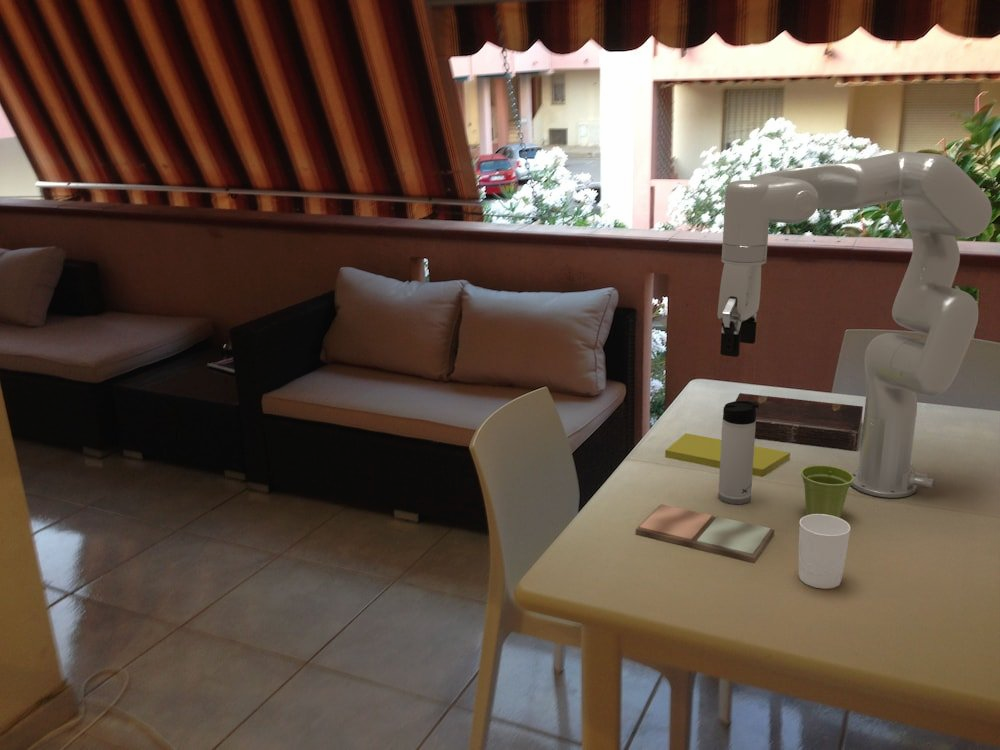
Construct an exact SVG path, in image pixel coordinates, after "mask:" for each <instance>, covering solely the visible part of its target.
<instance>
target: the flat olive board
mask: <svg viewBox="0 0 1000 750" xmlns="http://www.w3.org/2000/svg"><path fill="white" fill-rule="evenodd" d="M664 455H665V457H664V458H667V459H672V460H676V461H677V460H678V461H681V462H688V463H693V464H696V465H697V464H698V465H701V466H705V467H706V466H707V467H712V468H716V469H720V457H721V438H713V437H708V436H703V435H697V434H693V433H687V432H685V433H684V434H683V435H681V437H680V438H678V439H677V440H676V441H675V442H673V443H672V444H671V445H670V446H668V447H667V449H666V448H665V454H664ZM790 458H791V452H788V451H784V450H778V449H772V448H768V447H767V448H766V447H762V446H756V445H754V457H753V472H752V476H758V477H761V478H762V477H764V476H765V475H767V474H768V473H771V472H772V471H773V470H775V469H776V468H778V467H780V466H781V465H784V464H785V463H787V462H788V461H790Z"/></svg>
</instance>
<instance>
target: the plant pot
mask: <svg viewBox="0 0 1000 750" xmlns="http://www.w3.org/2000/svg"><path fill="white" fill-rule="evenodd" d="M800 475H801V477H802V481H803V484H804V496H805V497H804V499H805V513H806V515H811V514H826V515H832V516H835V517H838V518H841V516H842V513H843V508H844V506H845V502H846V497H847V495H848V491H849V489H850V487H851V483H852V482H853V480H854V476H853V475H852V472H850V471H848V470H846V469H843V468H840V467H837V466H833V465H825V464H824V465H823V464H813V465H807V466H804V467H803V468H801V469H800Z"/></svg>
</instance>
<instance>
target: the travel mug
mask: <svg viewBox="0 0 1000 750" xmlns="http://www.w3.org/2000/svg"><path fill="white" fill-rule="evenodd" d="M756 407H757V409H758V408H759V405H758V403H757V402H750V401H736V400H735V401H731V402H728V403H726V404H724V406H723V409H722V410H723V411H722V413H723V415H722V423H721V424H722V425H721V426H722V427H721V438H720V440H721V457H720V468H719V476H718V478H719V479H718V498H719V500H721V501H722V502H724V503H727V504H730V505H731V504H732V505H744V504H746V503H749V502H750V501H751V498H752V484H753V475H752V472H753V457H754V446H755V440H756V439H755V427H756V424H755V423H756Z"/></svg>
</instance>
